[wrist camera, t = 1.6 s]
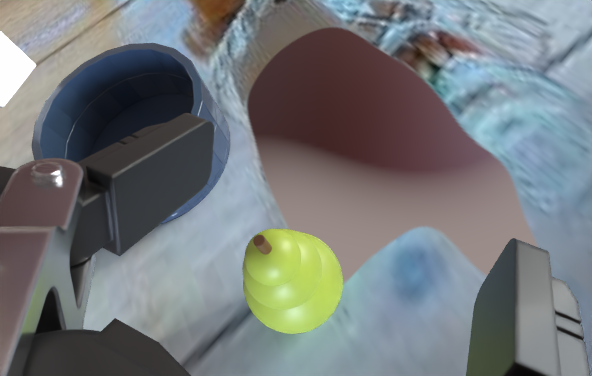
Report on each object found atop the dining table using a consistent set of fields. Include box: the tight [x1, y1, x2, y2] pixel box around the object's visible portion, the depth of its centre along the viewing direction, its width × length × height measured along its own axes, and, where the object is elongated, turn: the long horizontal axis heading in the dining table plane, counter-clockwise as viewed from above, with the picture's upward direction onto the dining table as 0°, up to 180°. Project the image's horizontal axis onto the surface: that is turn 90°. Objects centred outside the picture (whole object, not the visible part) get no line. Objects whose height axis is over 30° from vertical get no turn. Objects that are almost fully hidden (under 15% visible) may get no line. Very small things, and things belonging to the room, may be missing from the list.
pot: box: [32, 43, 230, 224], centre depth 35 cm, size 14×14×6 cm
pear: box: [243, 229, 343, 334], centre depth 25 cm, size 6×6×12 cm
